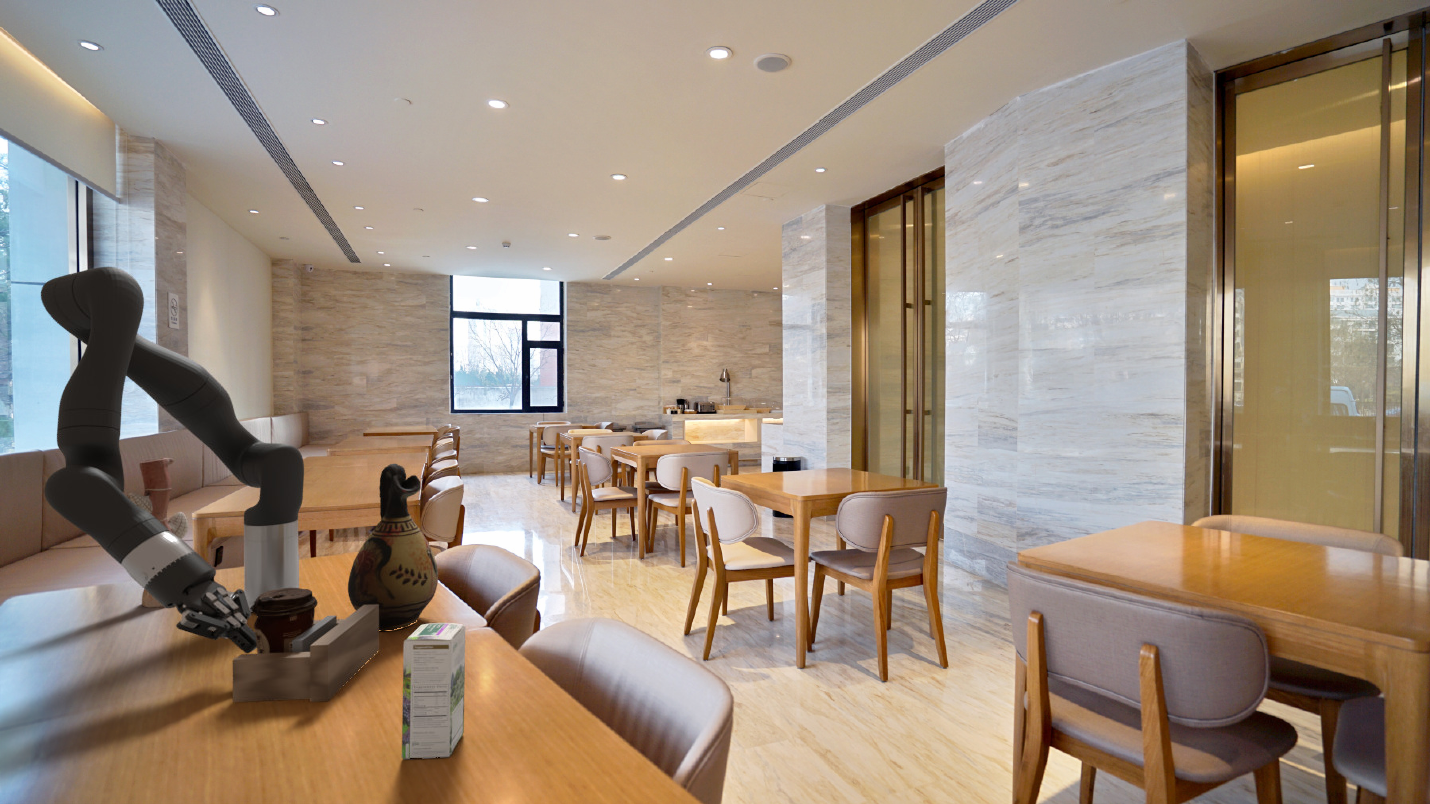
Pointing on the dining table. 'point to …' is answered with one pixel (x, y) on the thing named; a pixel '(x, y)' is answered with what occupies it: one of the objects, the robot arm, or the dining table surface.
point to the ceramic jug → (394, 558)
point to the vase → (158, 504)
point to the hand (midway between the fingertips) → (255, 647)
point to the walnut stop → (310, 663)
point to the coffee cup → (282, 618)
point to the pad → (313, 634)
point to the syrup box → (433, 690)
